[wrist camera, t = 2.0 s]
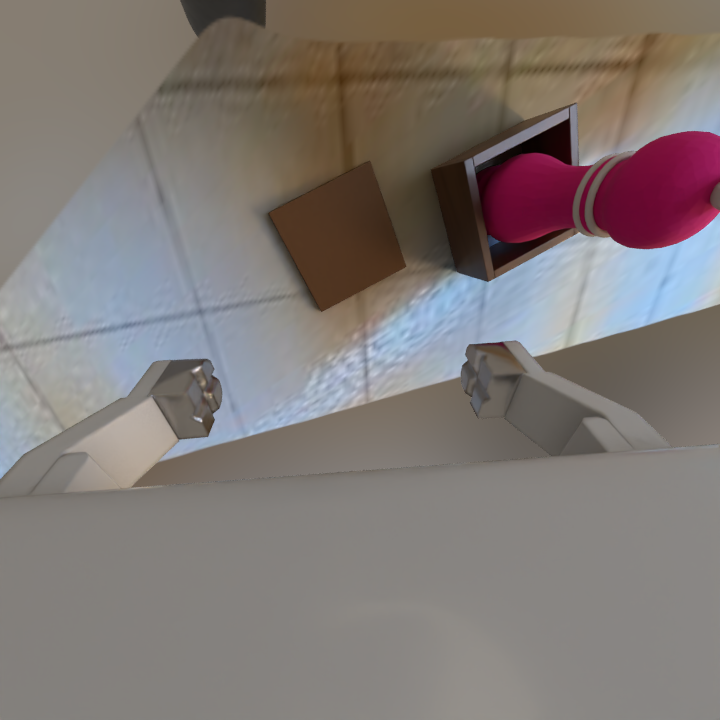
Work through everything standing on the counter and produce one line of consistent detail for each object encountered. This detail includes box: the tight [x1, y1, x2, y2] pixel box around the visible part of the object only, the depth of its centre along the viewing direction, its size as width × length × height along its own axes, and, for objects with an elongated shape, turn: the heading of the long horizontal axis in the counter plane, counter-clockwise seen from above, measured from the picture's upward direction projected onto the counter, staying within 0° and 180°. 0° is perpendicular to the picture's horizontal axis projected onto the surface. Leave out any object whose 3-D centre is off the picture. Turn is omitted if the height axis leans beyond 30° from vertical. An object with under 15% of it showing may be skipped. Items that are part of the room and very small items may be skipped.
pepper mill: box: [476, 131, 720, 249], centre depth 23 cm, size 7×7×20 cm
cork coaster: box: [268, 161, 406, 312], centre depth 29 cm, size 10×10×1 cm
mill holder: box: [431, 103, 579, 282], centre depth 29 cm, size 11×11×6 cm
